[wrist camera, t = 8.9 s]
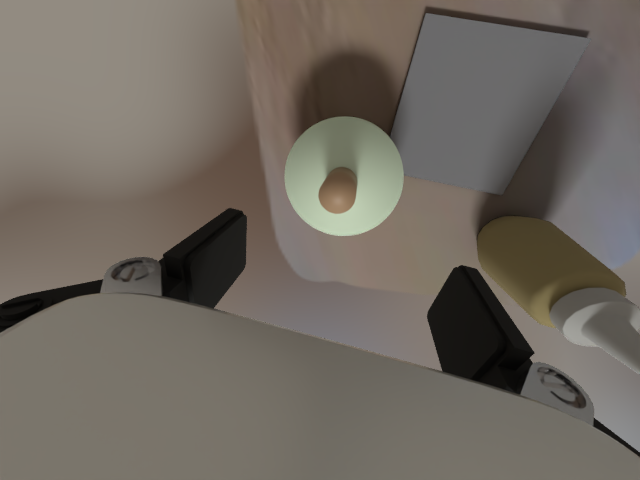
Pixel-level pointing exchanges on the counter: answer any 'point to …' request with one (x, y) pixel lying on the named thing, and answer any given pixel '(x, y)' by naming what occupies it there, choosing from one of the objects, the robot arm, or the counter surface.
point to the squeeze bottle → (561, 285)
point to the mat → (478, 99)
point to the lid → (344, 176)
